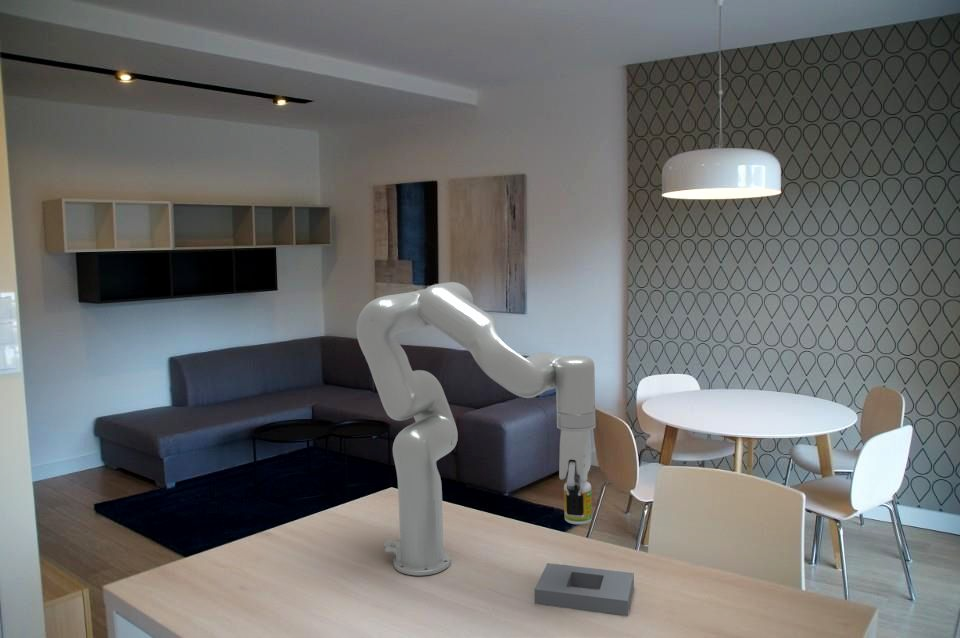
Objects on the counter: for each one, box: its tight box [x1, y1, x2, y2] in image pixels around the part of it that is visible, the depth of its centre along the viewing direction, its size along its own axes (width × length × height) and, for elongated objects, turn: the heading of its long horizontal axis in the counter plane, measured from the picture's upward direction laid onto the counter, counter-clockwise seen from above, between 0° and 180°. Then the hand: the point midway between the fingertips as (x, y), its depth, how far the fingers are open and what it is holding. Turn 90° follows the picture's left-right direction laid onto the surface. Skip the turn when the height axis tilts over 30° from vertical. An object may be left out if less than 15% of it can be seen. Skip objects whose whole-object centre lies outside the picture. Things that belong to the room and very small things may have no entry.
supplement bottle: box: [563, 475, 593, 525], centre depth 147 cm, size 5×5×10 cm
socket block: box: [534, 562, 635, 617], centre depth 149 cm, size 18×12×3 cm, turn 73°
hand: (577, 507), depth 147 cm, fingers closed on supplement bottle, 5 cm apart
